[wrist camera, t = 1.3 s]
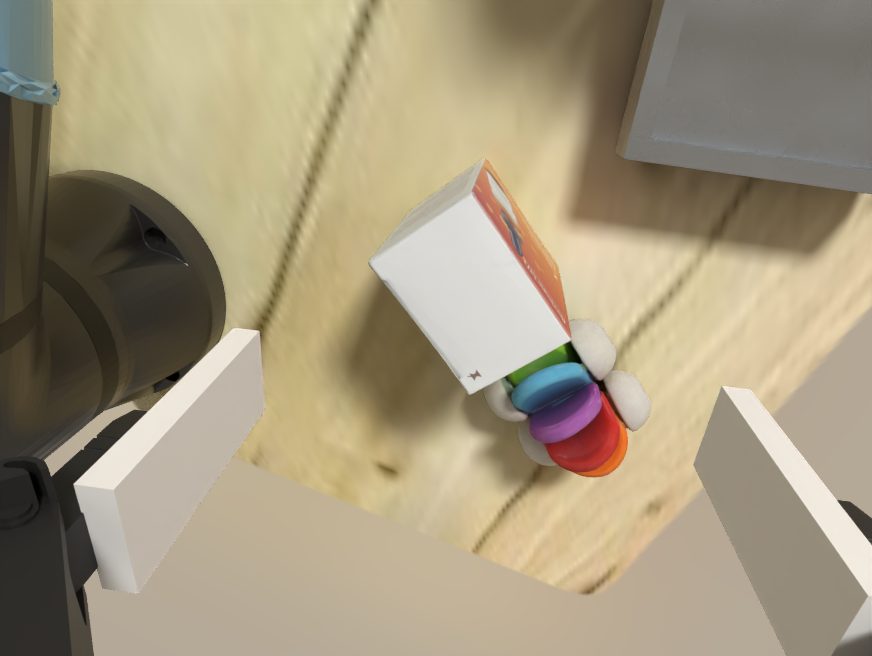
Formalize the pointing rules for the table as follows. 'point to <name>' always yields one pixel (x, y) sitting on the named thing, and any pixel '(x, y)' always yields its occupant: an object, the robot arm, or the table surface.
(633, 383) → the rainbow segmented toy
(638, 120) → the grey storage bin
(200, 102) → the table surface
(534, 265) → the small box
